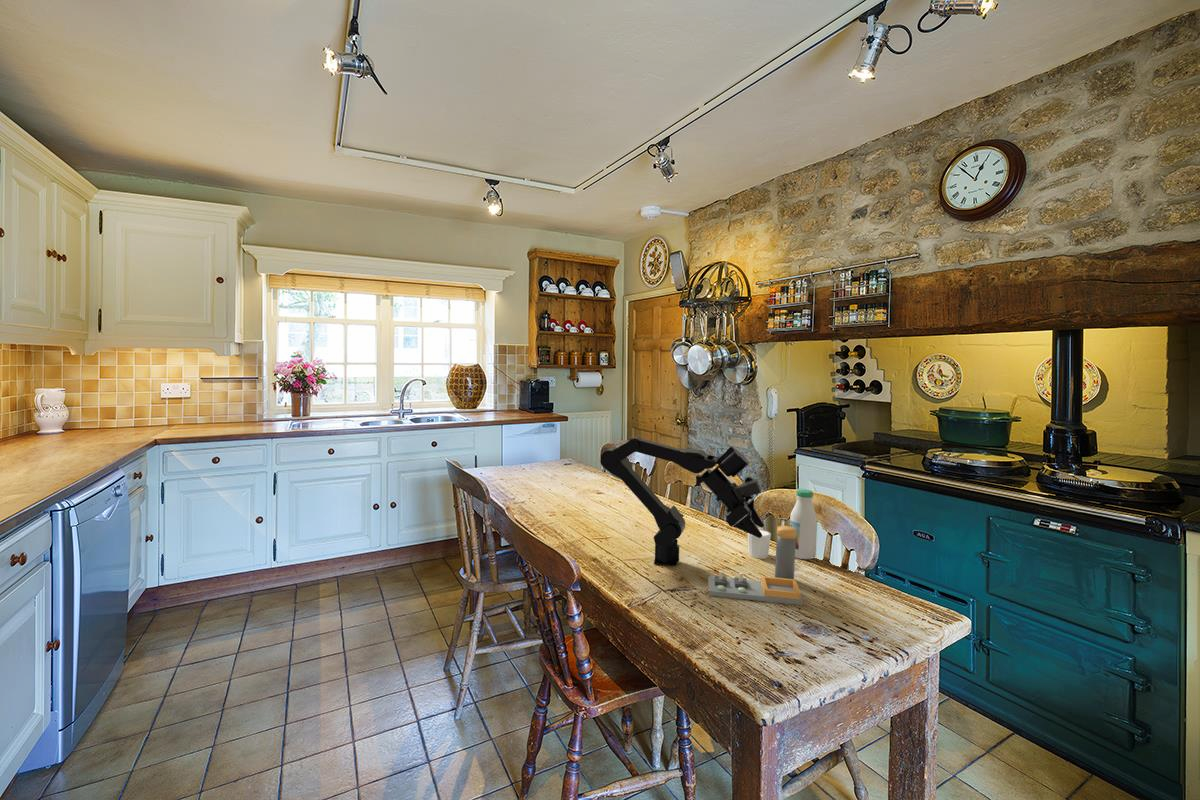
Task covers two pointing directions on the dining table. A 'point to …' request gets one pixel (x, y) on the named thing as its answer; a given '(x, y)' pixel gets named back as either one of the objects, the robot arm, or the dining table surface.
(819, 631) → the dining table surface
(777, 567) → the grey orange cylinder
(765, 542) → the white tapered cup
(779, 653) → the dining table surface
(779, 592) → the breaker panel
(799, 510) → the milk bottle
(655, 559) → the robot arm
